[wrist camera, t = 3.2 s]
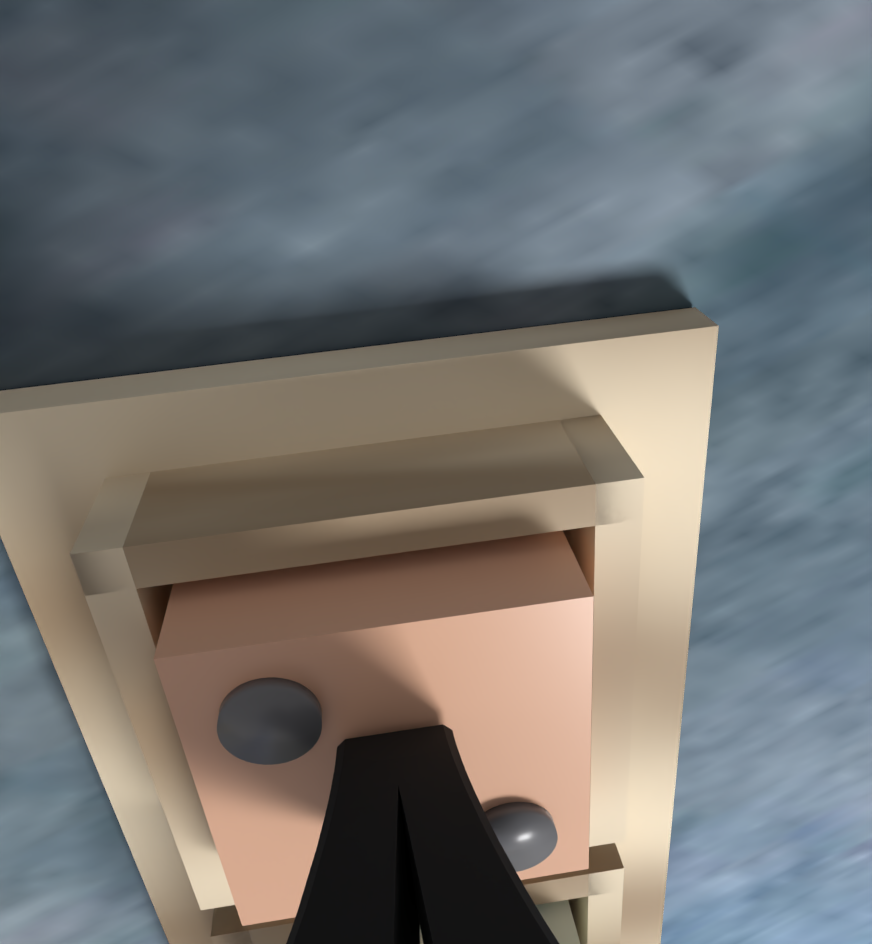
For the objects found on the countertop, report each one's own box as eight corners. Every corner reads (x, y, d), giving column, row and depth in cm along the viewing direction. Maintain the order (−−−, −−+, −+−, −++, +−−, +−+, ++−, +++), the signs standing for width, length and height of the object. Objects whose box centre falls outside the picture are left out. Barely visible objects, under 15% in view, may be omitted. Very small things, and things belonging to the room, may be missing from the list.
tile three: (548, 741, 14) (592, 881, 12) (253, 786, 14) (241, 939, 11) (544, 491, 12) (599, 606, 9) (185, 539, 11) (150, 671, 9)
